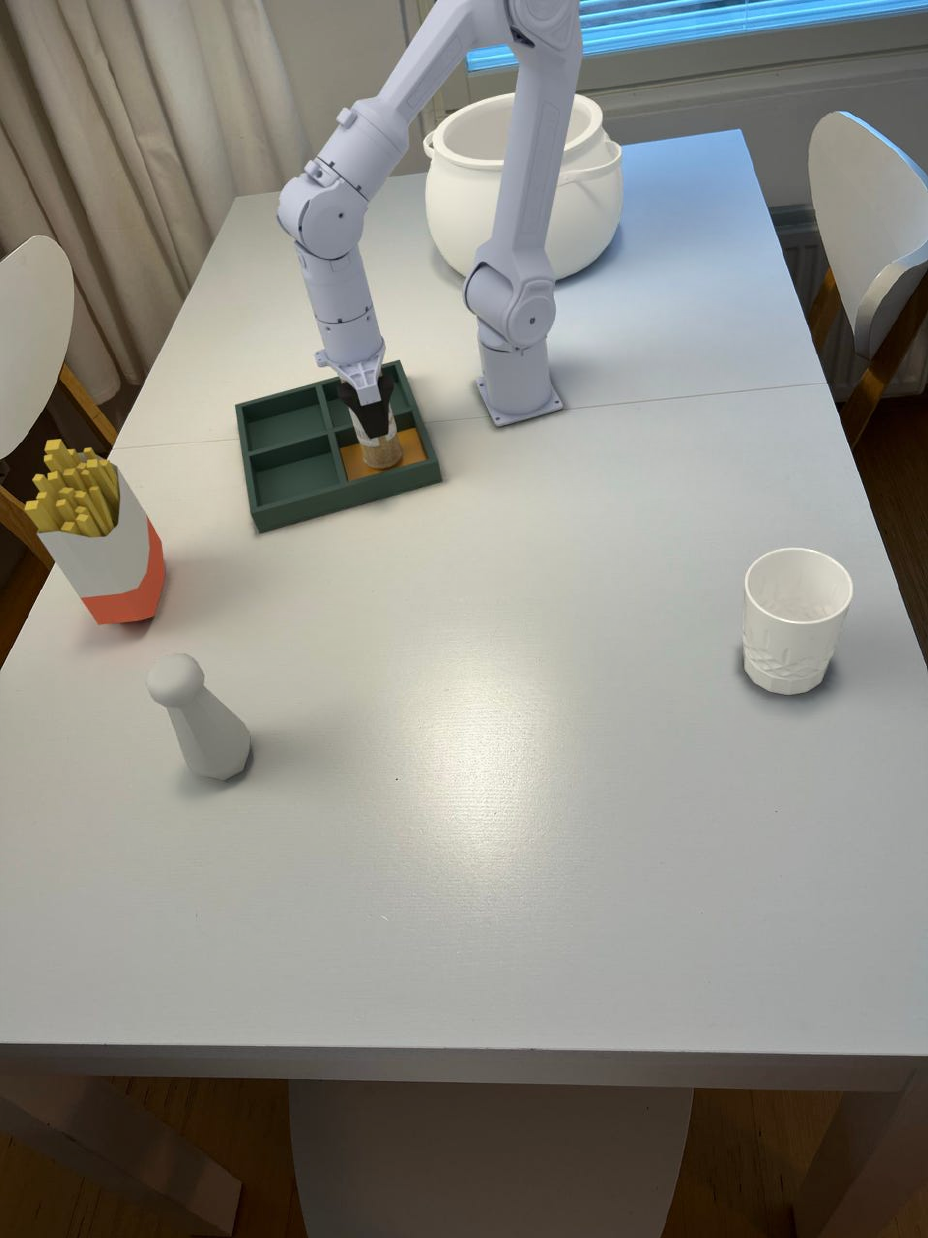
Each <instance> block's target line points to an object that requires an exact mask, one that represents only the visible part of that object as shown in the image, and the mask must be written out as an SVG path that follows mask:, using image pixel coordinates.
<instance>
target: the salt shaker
mask: <svg viewBox="0 0 928 1238" xmlns="http://www.w3.org/2000/svg"><path fill="white" fill-rule="evenodd" d="M200 665H201V664H200V663H199V662H198V661H197V660H196V658H195V657H193V656H191V655H189V654H188V653H184V652H174V653H171V654H167V655H164V656H162V657H160V658H159V659H158V660H157V661H154V662H153V664H152V666H150V668H149V670H147V672H146V676H145V682H144V683H145V686H146V688H147V691H148V693H149V695H150V697H151V699H152V700H153V701H154V702H155V703H156V704H159V705H160V706H162V707H164V708H166V710H167V713H168V716H169V719H170V722H171V724H172V727H173V729H174V733H175V736H176V738H177V741H178V746H179V749H180V752H181V754H182V758H183V760H184V763H185V764H186V766H187V768H188V769H189V770H190V771H192V772H193V773H196V774H197V775H199V776H200V777H206V778H211V779H215V780H220V781H224V782H225V781H226V780H228V779H230V778H232V777H234V776H235V775H237V774H240V773H241V772H243V771H244V770H245V766H246V763H247V760H248V757H249V754H250V750H251V749H250V748H251V737H252V736H251V732H250V730H249V728H248V727H247V725H246V723H245V722H244V721H243V720H242V719H241V718H240V717H239V716H238V715H236V714H235V712H233V711H232V710H231V709H230V708H229V707H228V706H227V705H226V704H225V703H223V702H222V701H221V700H220V699H219V698H218V697H217V696H216V695H215V694H213V692H212V691H211V690H210V689H208V688H207V687H206V686H205V685H204V683H205V674H204V671H203V669H202V667H201V666H200Z"/></svg>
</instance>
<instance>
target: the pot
mask: <svg viewBox="0 0 928 1238" xmlns="http://www.w3.org/2000/svg"><path fill="white" fill-rule="evenodd" d="M514 97H515V92H509V93H505V94H504V93H503V94H499V95H495V96H491V97H488V98H485V99H482V100H479V101H475V102H474V103H470V104H468V105H466V106H464V107H462V108H460V109H458V110H456V111H454V112H453V113H452V114H450V115H448V116H447V117H446V118H445V119H444V120H442V121H441V122H440V123H439V124H438V126H437V127H436V128H435V129H434V130H432V131H430V133H428V134H427V135H426V136H425V137H424V139H423V143H422V145H423V150H424V153H425V155H426V156H427V157H428V158H430V159H431V161H430V166H429V169H428V173H427V176H426V179H425V192H424V199H425V200H424V201H425V211H426V212H425V213H426V219H427V223H428V229H429V233H430V235H431V237H432V239H433V241H434V244H435V245H436V247H437V249H438V251H439V253H440V254H441V256H442V258H443V259H444V260H445V261H446V263H447V264H449V266H450V267H452V268H453V269H454V270H455V271H456V272H458V273H459V274H460V275H462V276H463V277H465V278H466V277H467V275H468V273H469V272H470V270H471V268H472V266H473V263H474V260H475V255H476V249H477V248H478V247H479V246H480V245H482V244H483V243H485V242H486V241H488V240H489V239H490V238H491V237H492V231H493V225H494V219H495V213H496V207H497V201H498V195H499V188H500V182H501V176H502V170H503V164H504V158H505V152H506V146H507V140H508V134H509V127H510V121H511V115H512V109H513V103H514ZM603 115H604V114H603V111H602V108H601V106H600V105H599V104H598V103H597V102H595V101H594V100H593V99H591V98H588V97H587V96H585V95H582V94H579V93H575V97H574V102H573V107H572V112H571V117H570V122H569V127H568V132H567V137H566V142H565V147H564V152H563V157H562V162H561V167H560V172H559V177H558V182H557V187H556V192H555V197H554V202H553V207H552V212H551V217H550V222H549V227H548V232H547V237H546V242H545V247H544V249H545V252H546V255H547V257H548V260H549V262H550V265H551V267H552V269H553V272H554V275H555V278H556V281H559V280H561V279H565V278H567V277H569V276H572V275H574V274H576V273H578V272H580V271H582V270H584V269H585V268H587V267H588V266H590V265H591V264H592V263H594V262H595V261H596V260H597V259H598V258H599V257H600V256H601V255H602V254H603V252H604V251H605V250H606V248H607V247H609V245H610V243H611V242H612V241H613V237H614V236H615V233H616V230H617V228H618V227H619V223H620V221H621V217H622V211H623V208H624V175H623V168H622V164H623V163H622V162H623V149H622V147H621V145H620V144H619V143H617V142H616V141H613V140H611V138H610V136H609V134H608V133H607V131H606V130H605V129H604V128H603V119H604V117H603ZM431 144H432V146H433V148H432V147H430V145H431Z"/></svg>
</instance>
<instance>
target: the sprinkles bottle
mask: <svg viewBox="0 0 928 1238" xmlns="http://www.w3.org/2000/svg"><path fill="white" fill-rule="evenodd" d="M336 374H337V377H338V376H339V378H340V380H341V382H342V383H344V382H347V381H346V380H345V379H344V378H343V377H341V376H340V375H339V374H338V373H337V372H336ZM380 376H382V373H381V369H380V373H379V377H380ZM348 408H349V407H348ZM349 411H350V415H351V418H352V421H353V425H354V428H355V431H356V434H357V438H358V440H359V442H360V446H361V448H362V452H363V460H364V462H365V464H366V465H368V466H369V467H371V468H375V469H384V468H388V467H391V466H393V465H395V464H396V463H397V462H398V461H400V459H401V458H402V455H403V448H402V446H401V445H400V441H399V438H398V433H397V429H396V424H395V420H394V417H393V413H392V409H391V406H390V402H389V432H388V435H385V436H381V437H378V438H374V439H369V437H368V436H367V434H366V433H365V431H364V429H363V427H362V426H361V424H360V422H359V420H358V418H357V416H356V415H355V414H354V412H353V411H352V410H351V409H350V408H349Z"/></svg>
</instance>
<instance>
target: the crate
mask: <svg viewBox="0 0 928 1238" xmlns="http://www.w3.org/2000/svg"><path fill="white" fill-rule="evenodd" d="M381 373H382V376H383V375H387V374H391V375H392V377H393V380H394V390H393V392H392V394H391V397H390V401H389V402H390V406H391V409H392V413H393V417H394V420H395V424H396V429H397V433H398V438H399V441H400V445H401V446H402V448H403V455H402V458H401V459H400V461H398V462H397V463H396V464H395V465H393V466H391V467H388V468H384V469H375V468H371V467H369V466H368V465H366V464H365V462H364V460H363V452H362V448H361V446H360V442H359V440H358V438H357V434H356V431H355V428H354V425H353V421H352V418H351V415H350V411H349V408H348V406H347V405H345V404H344V403H343V402H342V401H341V399H340V398H339V395H338V391H337V388H336V385H337V384H341V383H342V382H341V380H340V378H339V376H338V375H337V376H334V377H330V378H327V379H323V380H320V381H316V382H313V383H309V384H305V385H301V386H297V387H294V388H291V389H286V390H283V391H280V392H276V393H272V394H269V395H265V396H262V397H258V398H255V399H251V400H246V401H243V402H239V403H236V404H234V411H235V417H236V423H237V429H238V436H239V443H240V451H241V457H242V465H243V472H244V478H245V485H246V491H247V492H246V493H247V498H248V506H249V512H250V516H251V518H252V520H253V522H254V525H255V527H256V529H257V532H258V533H259V534H262V533H266V532H268V531H273V530H275V529H276V530H277V529H279V528H283V527H287V526H291V525H294V524H297V523H301V522H305V521H308V520H312V519H314V518H318V517H321V516H326V515H329V514H332V513H336V512H340V511H343V510H346V509H350V508H354V507H357V506H361V505H364V504H365V505H366V504H368V503H372V502H375V501H378V500H382V499H386V498H389V497H393V496H396V495H399V494H403V493H406V492H410V491H414V490H417V489H422V488H424V487H429V486H432V485H435V484H439V483H441V482H443V478H442V473H441V467H440V463H439V459H438V456H437V454H436V452H435V449H434V446H433V443H432V440H431V438H430V436H429V433H428V430H427V428H426V424H425V422H424V420H423V417H422V415H421V411H420V409H419V406H418V403H417V401H416V399H415V396H414V393H413V390H412V388H411V385H410V383H409V380H408V377H407V374H406V371H405V369H404V366H403V364H402V361H401V360H400V359H396V360H393V361H389V362H385V363H382V365H381Z"/></svg>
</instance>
